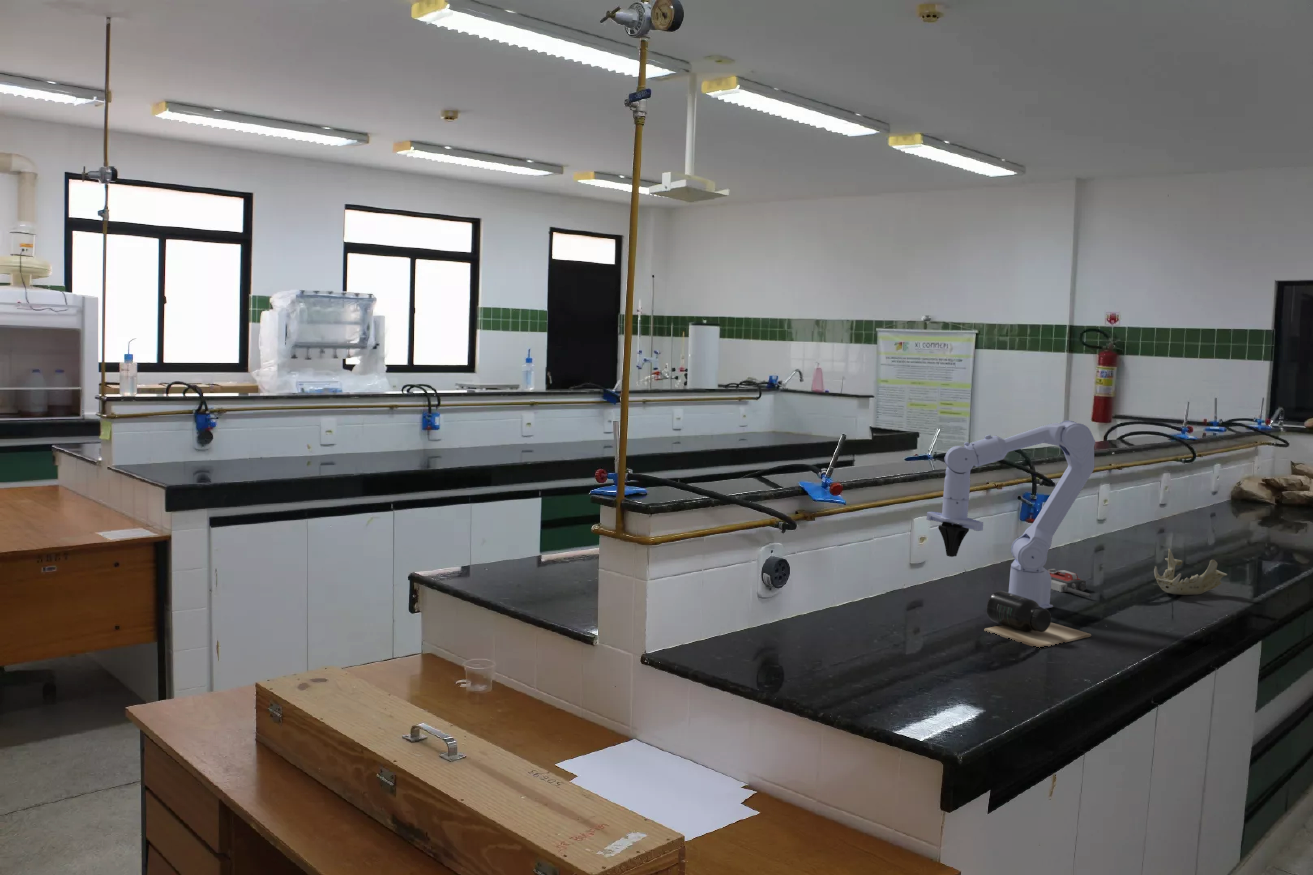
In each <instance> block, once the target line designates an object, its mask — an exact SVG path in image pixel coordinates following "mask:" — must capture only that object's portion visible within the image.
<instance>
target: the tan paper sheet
mask: <svg viewBox="0 0 1313 875" xmlns="http://www.w3.org/2000/svg"><path fill="white" fill-rule="evenodd" d="M983 631H984V632H986V631H987V632H986V633H989V632H990V634H992V633H995V634H997V635H996V636H998V635H1000V637H1002V638H1005V639H1008V638H1010V639H1009V640H1011V639H1012V640H1011V641H1014V640H1015V641H1014V642H1017V643H1020V642H1022V643H1021V644H1024V645H1027V646H1030V647H1033V646H1036V647H1039V648H1040V647H1044V646H1048V647H1052V646H1055V644H1057V645H1060V644H1059V643H1061V644H1063V642H1065V643H1068V642H1072V641H1073V642H1074V641H1077V640H1081V639H1085V638H1089V637H1091V636H1092V634H1091V633H1088V632H1086V631H1081V630H1079V629H1075V628H1072V627H1069V626H1064V625H1062V624H1058V623H1054V622H1052V621H1051V623H1050V626H1049V627H1048V629H1047V630H1046V631H1044V632H1039V631H1034V630H1032V631H1030V632H1023V631H1020V630H1017V629H1014V628H1011V627H1008V626H1005V625H1002V624H999V625H994V626H992V627H991V626H989V627H985V628H984V630H983ZM995 634H994V635H995ZM1051 645H1052V646H1051ZM1036 647H1035V648H1036ZM1039 648H1038V649H1039ZM1044 648H1045V647H1044ZM1040 649H1041V648H1040Z"/></svg>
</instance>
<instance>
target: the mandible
mask: <svg viewBox="0 0 1313 875" xmlns="http://www.w3.org/2000/svg"><path fill="white" fill-rule="evenodd" d="M1174 557H1175V556H1174V554H1173V553H1172V551H1171V549H1170V548H1168V554H1167V557H1166V558H1164V559H1165V561H1166V562H1167V569H1165V570H1164V572H1163V575H1160V574H1159V572H1158V571H1159V570H1158V567H1157V565H1154V569H1153V573H1154V578H1155V579H1156V583H1157V584H1158V586H1159V588H1160V589H1161V591H1163V592H1164V593H1167V594H1172V595H1186V596H1188V595H1190V596H1193V595H1203V594H1204V593H1206V592H1208V591H1211V590H1213V589H1216V588H1217V587H1218V586H1221V585H1222V584H1223V583H1222V582H1221V581H1222V578H1224V577H1227V576H1228V573H1225V572H1222V571H1220V570H1218V569H1217V567H1218V562H1217V561H1216V560H1215V559H1211V560H1209V564H1208V566H1207V568H1206V570H1205V571H1204V572H1203V573H1202V574H1200V575H1199V574H1198V573H1197V574H1194V575H1191V577H1190V578H1188V577H1186V578H1184V579H1183V578H1182V579H1181V577H1182V573H1178V574H1177V576H1175V570H1176V566H1181V565H1182V564H1183V560H1180V559H1176V558H1174ZM1180 579H1181V580H1180Z"/></svg>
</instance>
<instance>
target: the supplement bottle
mask: <svg viewBox="0 0 1313 875" xmlns="http://www.w3.org/2000/svg"><path fill="white" fill-rule="evenodd" d="M988 598H989V599H988V601H987V603H986V615H987V617H988V618H989V620H990V621H991V622H994V623H997V624H999V625H1005V626H1008V627H1011V628H1014V629H1017V630H1020V631H1023V632H1030V631H1032V630H1034V631H1039V632H1044V631H1046V630H1047V629H1048V627H1049V626H1050V623H1051V622H1052V615H1051V612H1050V611H1049V609H1048V608H1046V609H1044V608H1042V607H1040V606H1039V605H1038V603H1037V602H1036V601H1034V600H1031V599H1028V598H1025V597H1021V596H1018V595H1015V594H1011V593H1009V591H1004V590H997V591H995V592H993V593H992V594H991V595H990V597H988Z"/></svg>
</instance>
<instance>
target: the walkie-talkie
mask: <svg viewBox="0 0 1313 875" xmlns="http://www.w3.org/2000/svg"><path fill="white" fill-rule="evenodd" d="M1046 570H1047V571H1048V572H1049V573H1050V576H1051V580H1052V583H1051V590H1053V591H1057V592H1058V591H1059V593H1072V594H1074V595H1077V596H1078V595H1079V596H1083V597H1087V598H1092V597H1093V596H1092V594H1091V593H1088V592H1085V591H1086V589H1087V584H1086V580H1084V579H1081V578H1079V577H1078V574H1077V573H1075V572H1073V571H1070V570H1064V569H1062V570H1056V568H1049V569H1046Z"/></svg>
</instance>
